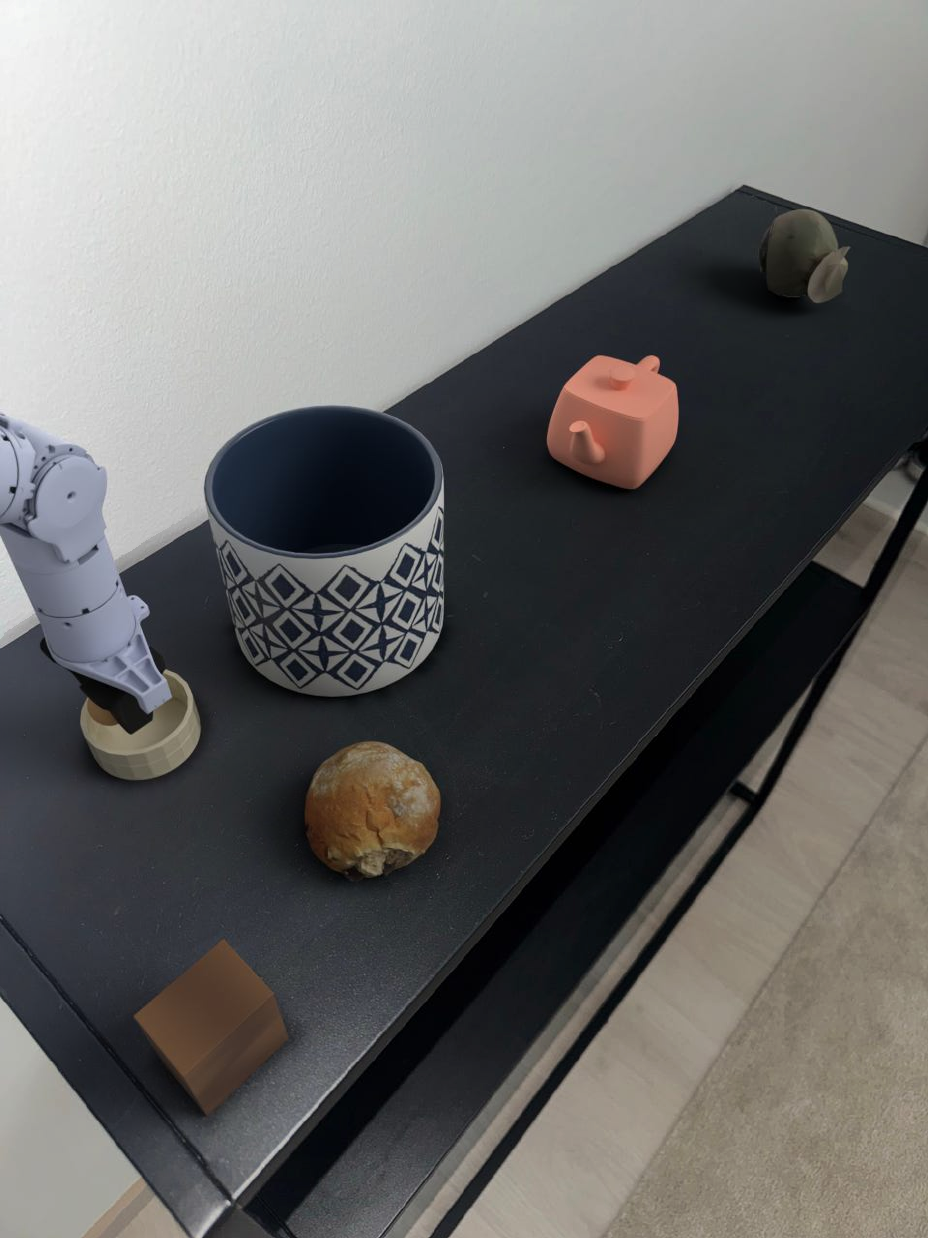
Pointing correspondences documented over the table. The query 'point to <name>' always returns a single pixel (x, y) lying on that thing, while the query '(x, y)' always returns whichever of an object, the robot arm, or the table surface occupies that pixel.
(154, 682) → the robot arm
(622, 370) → the teapot
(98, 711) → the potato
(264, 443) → the planter
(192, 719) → the bowl
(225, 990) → the block
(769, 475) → the table surface
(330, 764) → the bread roll
